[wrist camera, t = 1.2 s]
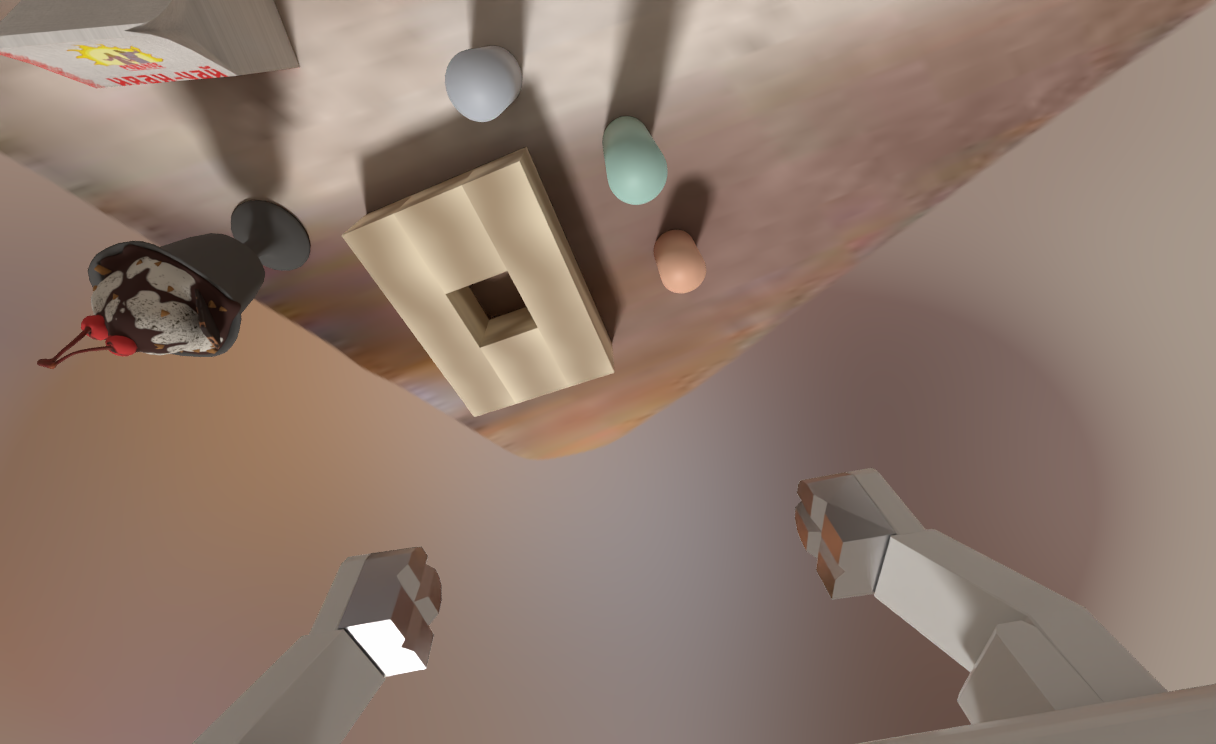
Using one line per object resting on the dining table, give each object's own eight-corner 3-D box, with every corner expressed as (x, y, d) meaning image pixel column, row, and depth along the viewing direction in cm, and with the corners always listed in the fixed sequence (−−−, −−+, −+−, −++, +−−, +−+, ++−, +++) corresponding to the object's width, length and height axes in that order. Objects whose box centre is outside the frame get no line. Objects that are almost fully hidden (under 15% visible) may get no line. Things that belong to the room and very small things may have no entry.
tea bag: (140, -5, 25) (-76, -21, 17) (267, -17, 24) (112, -39, 16) (183, 77, 27) (11, 98, 19) (299, 67, 27) (177, 83, 19)
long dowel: (641, 108, 29) (657, 130, 22) (655, 157, 30) (674, 191, 24) (595, 127, 29) (598, 154, 23) (611, 174, 31) (618, 213, 24)
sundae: (199, 234, 32) (-34, 357, 20) (245, 164, 30) (11, 258, 17) (293, 298, 35) (140, 438, 23) (341, 239, 33) (199, 363, 21)
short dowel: (688, 223, 33) (700, 244, 30) (698, 260, 35) (710, 284, 31) (648, 238, 33) (655, 260, 30) (660, 274, 35) (667, 299, 32)
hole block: (526, 146, 30) (519, 161, 26) (612, 343, 39) (614, 372, 35) (366, 214, 32) (341, 235, 28) (483, 386, 41) (474, 417, 38)
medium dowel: (507, 36, 26) (489, 38, 21) (530, 94, 28) (519, 107, 23) (460, 58, 27) (432, 64, 22) (486, 114, 28) (465, 131, 24)
